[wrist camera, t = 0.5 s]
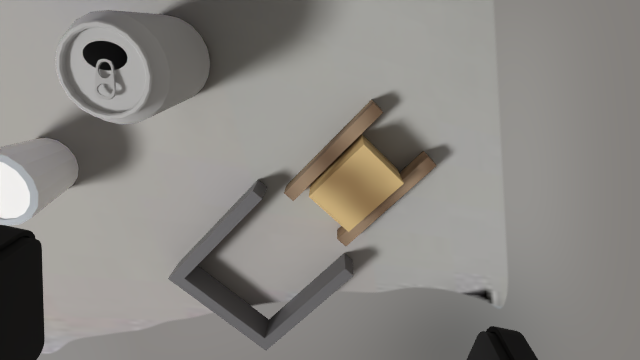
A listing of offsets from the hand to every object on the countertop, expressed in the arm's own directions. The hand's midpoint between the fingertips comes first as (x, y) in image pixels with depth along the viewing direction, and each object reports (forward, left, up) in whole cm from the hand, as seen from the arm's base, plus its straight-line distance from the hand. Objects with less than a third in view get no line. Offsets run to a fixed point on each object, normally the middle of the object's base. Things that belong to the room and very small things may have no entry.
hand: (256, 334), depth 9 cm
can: (+6, -12, -31) cm, 34 cm away
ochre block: (+3, +8, -31) cm, 32 cm away
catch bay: (+16, +8, -31) cm, 36 cm away
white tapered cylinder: (+23, -15, -31) cm, 42 cm away
